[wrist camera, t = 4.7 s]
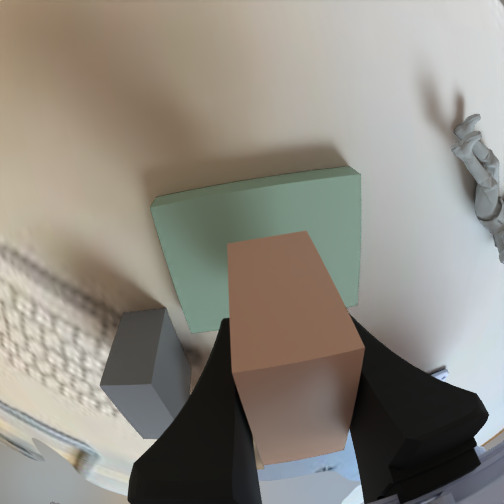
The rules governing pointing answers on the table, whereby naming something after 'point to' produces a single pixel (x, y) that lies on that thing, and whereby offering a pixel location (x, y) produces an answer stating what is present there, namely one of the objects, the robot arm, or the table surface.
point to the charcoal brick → (147, 372)
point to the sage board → (257, 232)
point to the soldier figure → (482, 179)
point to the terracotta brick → (291, 348)
